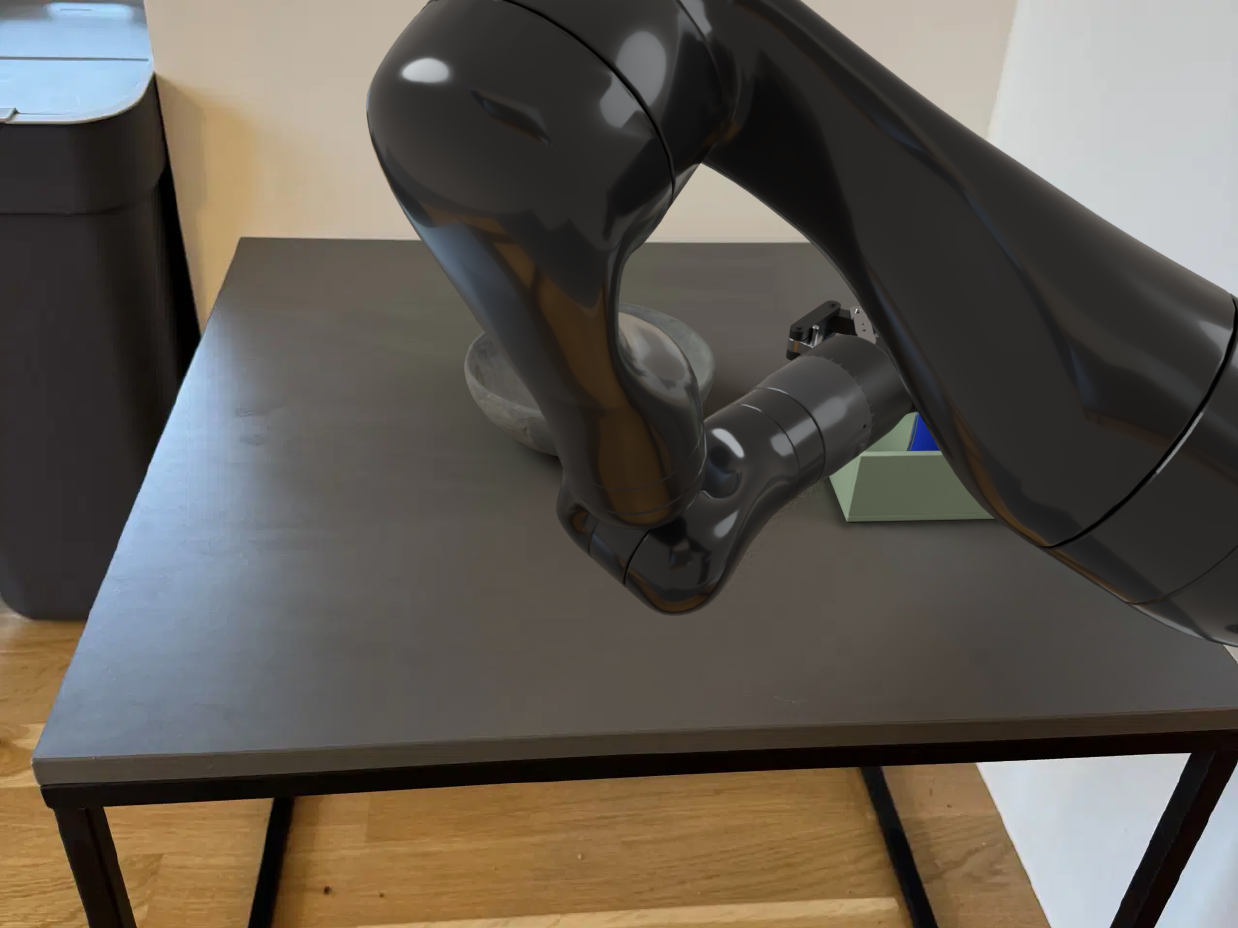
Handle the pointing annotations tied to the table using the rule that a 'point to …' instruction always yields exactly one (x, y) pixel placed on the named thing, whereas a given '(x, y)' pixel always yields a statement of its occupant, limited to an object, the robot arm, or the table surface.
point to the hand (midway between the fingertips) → (942, 327)
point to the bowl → (516, 406)
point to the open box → (902, 483)
